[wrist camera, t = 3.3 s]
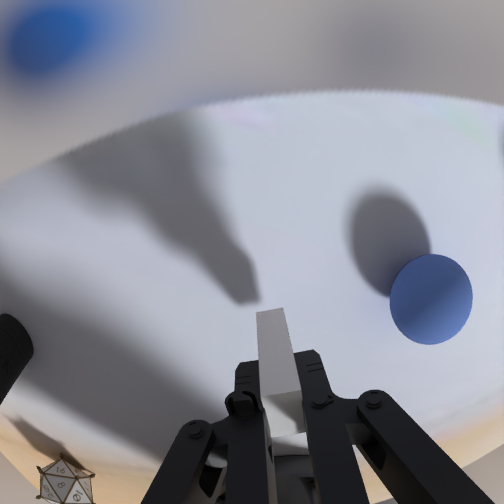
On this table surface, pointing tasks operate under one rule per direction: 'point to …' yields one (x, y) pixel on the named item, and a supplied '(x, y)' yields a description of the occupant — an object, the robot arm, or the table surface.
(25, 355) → the drinking cup
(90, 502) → the game die
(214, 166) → the table surface
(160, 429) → the table surface
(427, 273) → the ball
